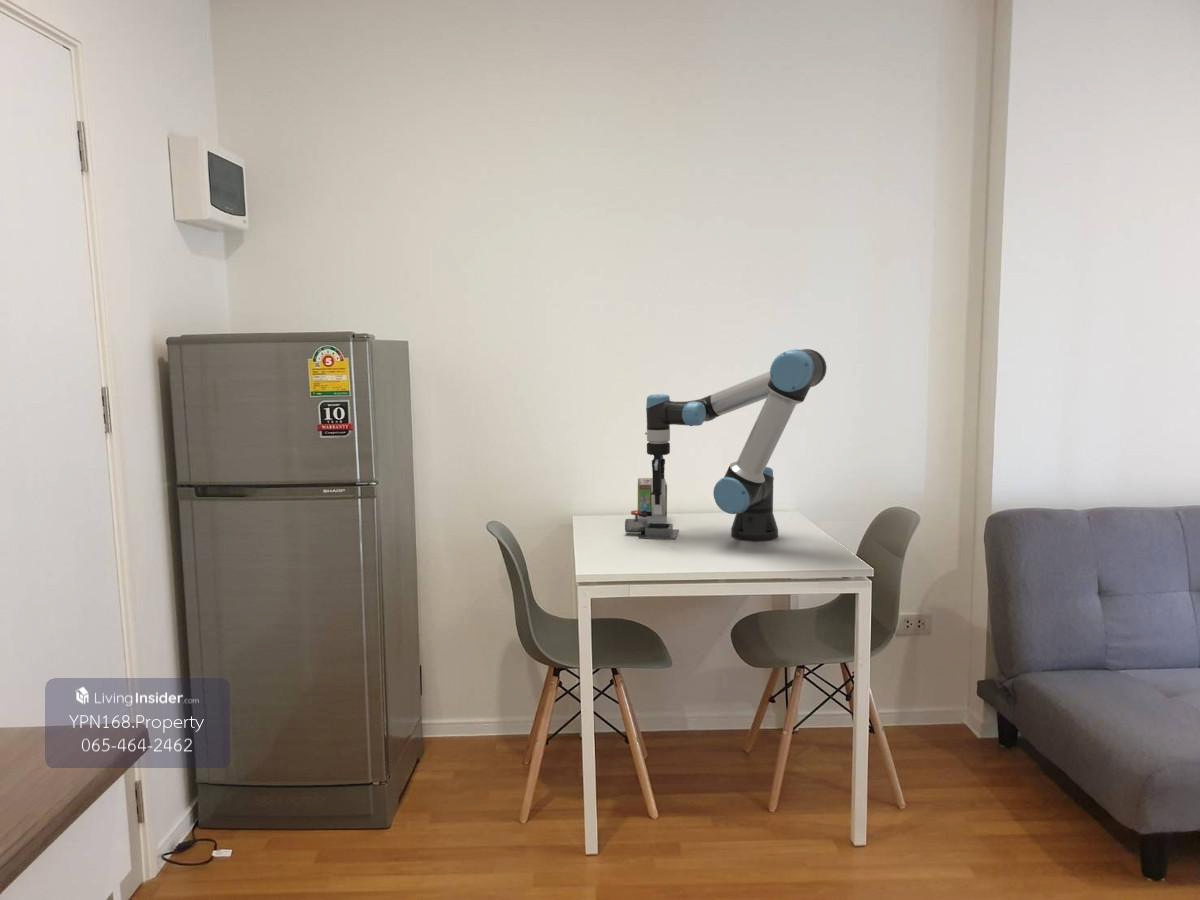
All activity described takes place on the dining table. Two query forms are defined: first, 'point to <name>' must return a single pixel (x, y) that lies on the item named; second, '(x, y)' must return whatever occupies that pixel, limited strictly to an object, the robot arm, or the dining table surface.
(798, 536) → the dining table surface
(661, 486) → the pipe
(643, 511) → the tea box
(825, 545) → the dining table surface
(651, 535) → the grey knobbed block
